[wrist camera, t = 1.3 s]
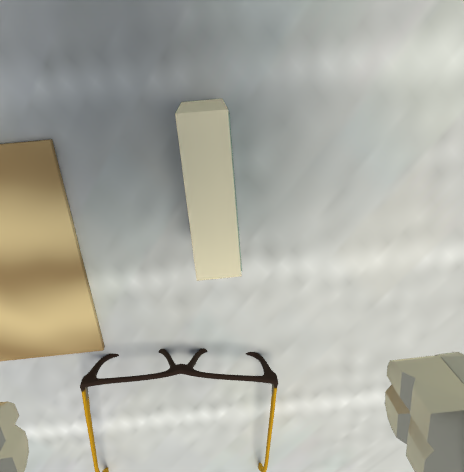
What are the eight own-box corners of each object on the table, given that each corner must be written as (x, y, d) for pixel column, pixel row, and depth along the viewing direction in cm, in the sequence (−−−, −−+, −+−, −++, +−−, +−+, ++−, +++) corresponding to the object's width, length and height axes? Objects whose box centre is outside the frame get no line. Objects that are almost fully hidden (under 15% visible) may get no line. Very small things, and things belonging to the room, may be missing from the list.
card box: (181, 101, 25) (175, 113, 19) (223, 98, 25) (229, 109, 19) (198, 236, 29) (197, 280, 23) (234, 232, 29) (242, 276, 23)
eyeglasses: (271, 339, 33) (280, 374, 29) (260, 464, 39) (266, 506, 35) (91, 341, 32) (76, 377, 28) (107, 469, 38) (96, 513, 34)
